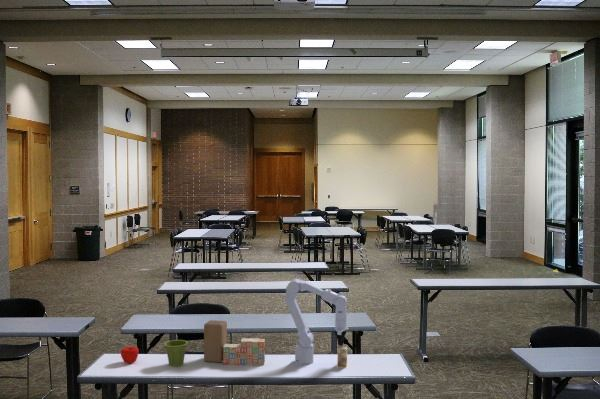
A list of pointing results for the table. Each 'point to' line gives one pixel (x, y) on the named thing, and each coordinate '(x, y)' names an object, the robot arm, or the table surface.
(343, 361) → the oak block
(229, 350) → the stack of blocks
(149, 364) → the table surface
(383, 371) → the table surface
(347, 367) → the board
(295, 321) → the robot arm
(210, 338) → the block
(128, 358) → the apple
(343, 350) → the maple block
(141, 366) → the table surface
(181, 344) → the plant pot
